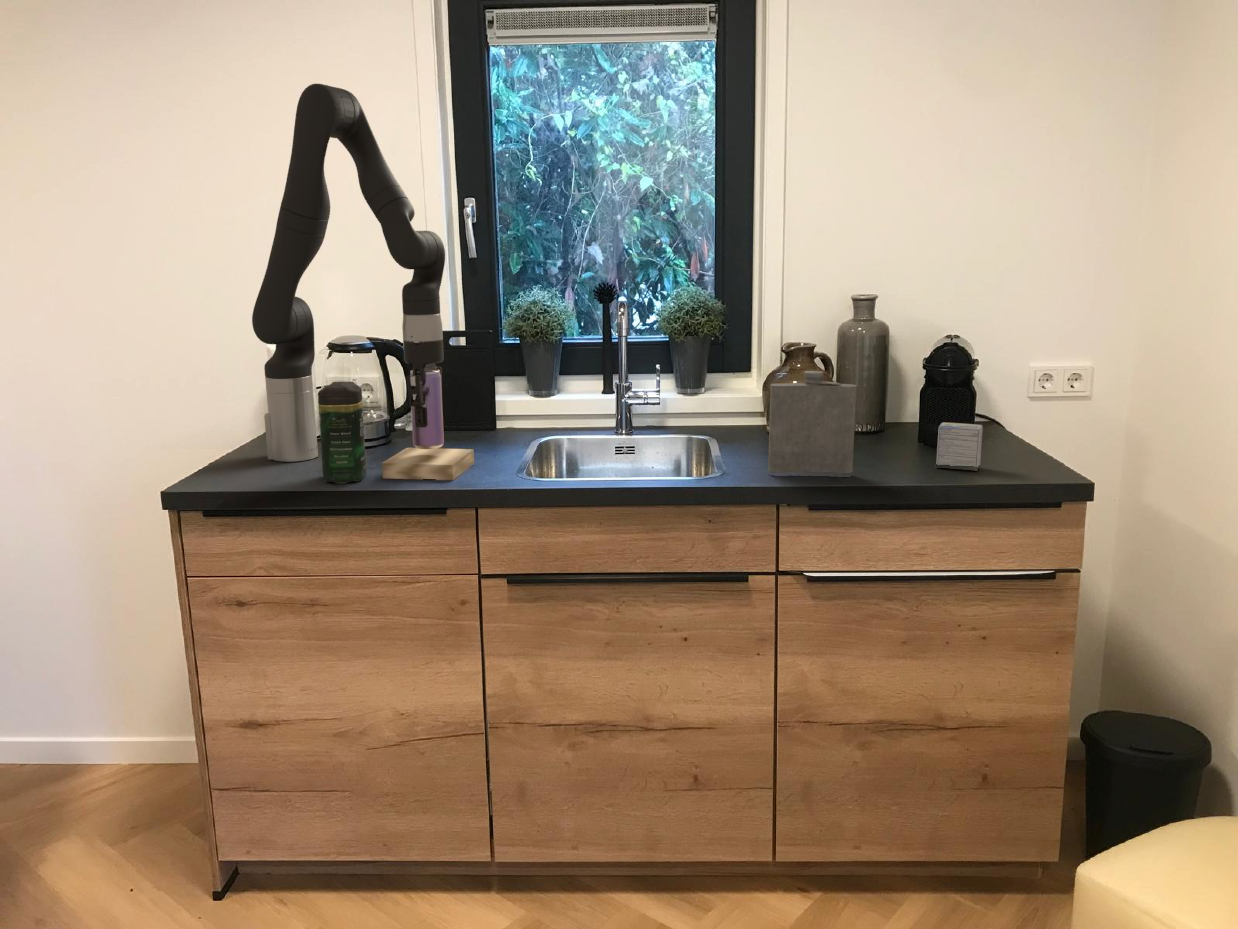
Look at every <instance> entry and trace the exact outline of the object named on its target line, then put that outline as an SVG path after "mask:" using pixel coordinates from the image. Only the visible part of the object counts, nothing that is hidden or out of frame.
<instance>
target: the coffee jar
mask: <svg viewBox="0 0 1238 929" xmlns="http://www.w3.org/2000/svg"><path fill="white" fill-rule="evenodd" d="M362 391H363V390H362V387H361V386H359V384H356V383H355V382H354V381H333V382H332V383H330V384H328V385H326V386H324V387H322V388H321V389H320V390H319V391H318V392H317V403H318V415H319V427H320V428H319V430H320V444H321V446H320V447H321V448H320V449H321V465H322V478H323V480H324V481H325V482H331V483H335V484H347V483H350V482H358V481H361V480H362V479H363V478H364V477H365V476H366V475H367V458H366V444H365V443H366V442H365V441H366V440H365V426H364V424H365V423H364V407H363V406H364V405H363V404H364V403H363V402H364V401H363V393H362Z"/></svg>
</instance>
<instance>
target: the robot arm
mask: <svg viewBox="0 0 1238 929" xmlns="http://www.w3.org/2000/svg"><path fill="white" fill-rule="evenodd" d="M330 138H331V139H337V140H338V141H339V142H340V143H341V144H342V145H343V147H344V148H345V149H346V151H347V152H348V153H349V154H350V156H351V158H352V160H353V163H354V165H355V167H356V173H357V177H358V178H357V179H358V184H359V188H360V191H361V194H362V196H363V198H364V200H365V203H366V204H367V205H368V207H369V208H370V210H371V211H372V213H373V214H374V216H375V219H376V220H377V221H378V222H379V224H380V226H381V231H382V235H383V237H384V240H385V243H386V246H387V248H388V252H389V254H390V256H391V258H392V259H393V260H394V262H395V263H397V264H398V265H399V266H400V267H401V268H403V269H406V270H413V272H412V278H411V280H410V281H409V282H407V283H406V284H404V285H403V286H402V291H401V300H402V326H401V327H402V344H403V345H402V347H403V361H404V363H406V364H408V365H409V364H410V365H412V366H413V367H412V370H413V375H411V376H410V375H406V378H405V379H406V387H407V397H408V405H409V407H411V406H413V408H415V425H416V427H426V426H427V425H428V421H427V408H426V407H427V397H428V396H430V385H429V384H428V385H427V387H426V390H425V391H422V385H423V386H424V385H425V383H426V372H431V371H432V370H434V369H438V370H440V375H441V389H442V390H443V368H442V366H437V365H436V364H439V363H442V362H444V360H445V358H444V357H445V355H444V338H443V337H444V335H443V323H442V321H443V320H442V318H441V297H440V289H441V286H442V285H441V284H442V281H443V275H444V270H445V266H446V265H445V264H446V249H445V244H444V242H443V239H442V238H441V237H440V235H438V234H437V232H434V231H432V230H415V229H414V227H413V226H412V223H411V222H412V221H413V219H414V218H415V214H416V213H415V212H416V211H415V209H414V206H413V203H411V201H410V198H409V197H408V196H407V194H406V193H405V191H404V190H403V188H402V187H401V185H400V183H399V182H398V181H397V179H396V177H395V176H394V173H393V172H392V171H391V169H390V166H389V165H388V163H387V161H386V159H385V157H384V155H383V153H382V151H381V149H380V145H379V144H378V141H377V140H376V137H375V135H374V133H373V130H372V129H371V126H370V124H369V121H368V119H367V116H366V113H365V112H364V109H363V108H362V105H361V103H360V102H359V100H358V98H357V96H355V95H354V94H353V93H352V92H350V91H349V90H347V89H343V88H340V87H336V86H332V85H328V84H323V83H312V84H309V85H308V86H306V87H305V88H304V90H303V91H302V92H301V95H300V97H299V99H298V102H297V106H296V111H295V120H294V126H293V137H292V145H291V146H292V147H291V154H290V160H289V164H288V170H287V175H286V182H285V186H284V192H283V196H282V199H281V202H280V207H279V211H278V216H277V220H276V226H275V233H274V237H273V241H272V244H271V248H270V252H269V253H270V254H269V258H268V262H267V266H266V270H265V272H264V273H265V274H264V276H263V279H262V282H261V286H260V289H259V292H258V294H257V297H256V300H255V303H254V306H253V310H252V315H251V324H252V329H253V331H254V334H255V336H256V338H257V339H258V340H259V341H260V342H262V343H265V344H266V345H275V348H274V353H273V355H272V356H271V357H270V358H269V359H268V360H267V361H266V362H265V364H264V366H263V367H264V368H263V369H264V379H265V389H266V390H265V391H266V401H267V402H266V403H267V413H265V414H264V416H263V417H264V419H263V420H264V428H265V430H264V431H265V439H266V440H265V442H266V450H267V451H266V452H267V460H273V461H276V462H285V463H287V462H290V463H291V462H301V461H308V460H313V459H315V458H317V457H318V456H319V451H318V450H319V449H318V448H319V447H318V446H319V445H318V438H317V436H318V435H317V423H316V411H315V398H314V397H315V395H314V384H313V364H314V362H315V356H316V355H315V354H316V350H315V323H314V317H313V313H312V310H311V308H310V305H308V303H307V302H306V301H305V300H304V299H303V298H301V297H299V296H296V293H297V289H298V286H299V283H300V281H301V279H302V277H303V275H304V273H305V272H306V270H307V269H308V267H309V266H310V265H311V263H312V262H313V260H314V258H315V257H316V255H317V254H318V252H319V251H320V249H321V247H322V245H323V243H324V240H325V238H326V237H325V236H326V234H327V233H326V232H327V229H328V223H329V219H330V217H331V216H330V215H331V200H330V195H329V190H328V185H327V180H326V177H325V160H326V154H327V149H328V145H329V141H330ZM417 396H418V398H419V400H417Z"/></svg>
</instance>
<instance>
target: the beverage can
mask: <svg viewBox="0 0 1238 929" xmlns="http://www.w3.org/2000/svg"><path fill="white" fill-rule="evenodd" d="M411 375H413V369H411V370H410V374H409V376H411ZM428 384H429V385H430V396H428V397H427V407H426V408H427V421H428V425H427V426H426V427H416V425H415V408H413V406H410V411H411V412H410V413H411V428H412V429H411V430H412V445H413V446H414V448H418V449H435V448H442V446H444V443H445V440H444V439H445V436H444V416H443V415H444V414H443V412H444V410H443V388H442V389H441V375H440V370H438V369H434V370H432V371H431V372H426V383H425V385H424V386H423V385H422V391H425V390H426V387H427V385H428ZM417 400H419V398H418V396H417Z"/></svg>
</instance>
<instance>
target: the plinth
mask: <svg viewBox="0 0 1238 929" xmlns="http://www.w3.org/2000/svg"><path fill="white" fill-rule="evenodd" d="M474 453H475V451H474V449H473V448H469V449H467V448H442V447H440V448H435V449H418V448H416V447H406V448H404V449H402V450H400V451H399V452H397V453H396V454H394V455H392V456H391V457H389V458H388V459H386V460H384V461H383V462H381V469H382V479H398V480H423V479H436V480H435V481H455V480H456V479H457V478H458V477H460V475H462V474H463V473H464V472H466V471H468V469H469V468H471V467H472V466H473V465H475V454H474Z"/></svg>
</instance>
